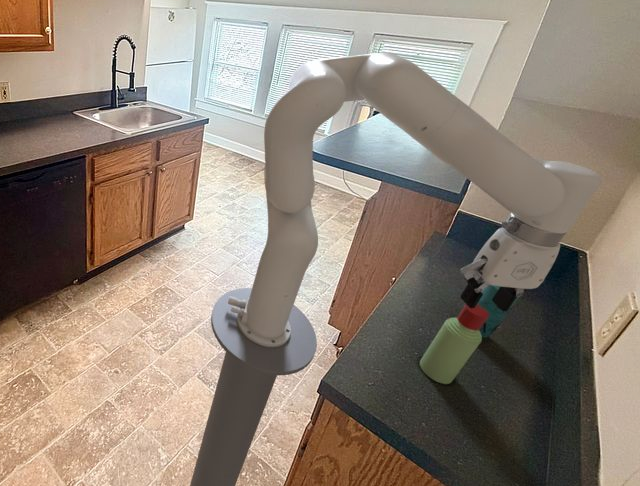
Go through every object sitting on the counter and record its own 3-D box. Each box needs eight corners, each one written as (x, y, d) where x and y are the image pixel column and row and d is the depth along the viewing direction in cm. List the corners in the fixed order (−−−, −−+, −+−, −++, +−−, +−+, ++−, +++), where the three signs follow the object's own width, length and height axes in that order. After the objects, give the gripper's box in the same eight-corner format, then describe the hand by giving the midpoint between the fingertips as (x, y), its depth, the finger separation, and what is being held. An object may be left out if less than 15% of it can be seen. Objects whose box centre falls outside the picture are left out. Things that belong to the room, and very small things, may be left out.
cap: (463, 328, 76) (472, 315, 74) (453, 314, 80) (461, 301, 78) (484, 332, 76) (493, 319, 74) (472, 317, 79) (481, 304, 78)
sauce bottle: (422, 376, 83) (462, 317, 75) (417, 354, 89) (453, 296, 80) (456, 388, 81) (500, 329, 73) (448, 364, 87) (489, 306, 78)
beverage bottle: (451, 322, 98) (490, 263, 89) (471, 320, 100) (512, 261, 91) (474, 344, 93) (518, 282, 83) (495, 341, 94) (541, 280, 85)
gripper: (500, 237, 63) (451, 315, 72) (601, 247, 63) (541, 323, 72) (469, 213, 70) (428, 287, 79) (561, 222, 70) (510, 294, 79)
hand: (483, 303), depth 75 cm, fingers open, 5 cm apart
